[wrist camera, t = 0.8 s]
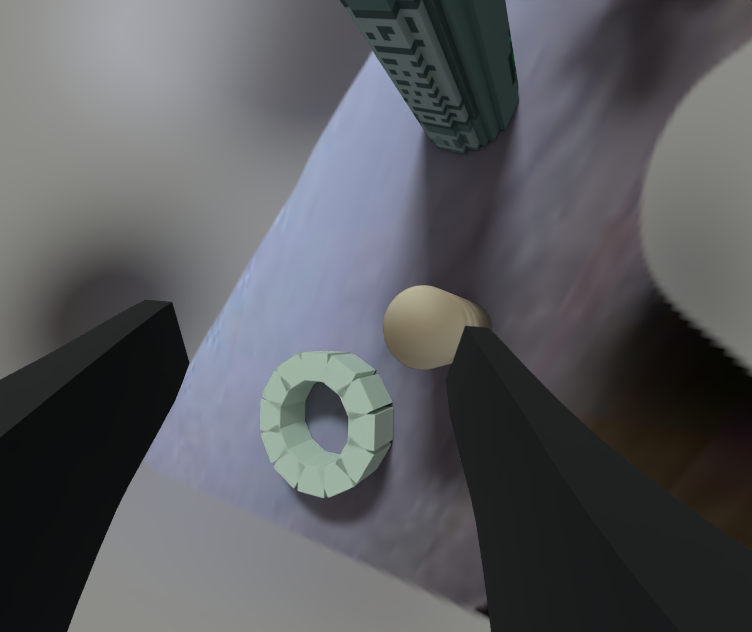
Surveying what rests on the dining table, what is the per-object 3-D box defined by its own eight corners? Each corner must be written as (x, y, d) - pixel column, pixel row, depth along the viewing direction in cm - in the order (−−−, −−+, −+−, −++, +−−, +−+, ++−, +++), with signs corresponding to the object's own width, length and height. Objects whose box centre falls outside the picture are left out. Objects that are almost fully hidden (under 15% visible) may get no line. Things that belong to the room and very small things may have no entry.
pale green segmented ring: (416, 453, 25) (399, 467, 22) (314, 497, 29) (289, 514, 26) (357, 328, 28) (336, 328, 25) (270, 384, 31) (244, 388, 29)
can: (533, 67, 23) (499, -312, 9) (492, 160, 24) (409, -67, 10) (447, 59, 25) (327, -246, 12) (414, 143, 26) (266, -56, 13)
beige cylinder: (504, 341, 23) (479, 344, 16) (450, 369, 24) (405, 383, 17) (472, 289, 24) (436, 269, 17) (423, 318, 25) (370, 312, 18)
